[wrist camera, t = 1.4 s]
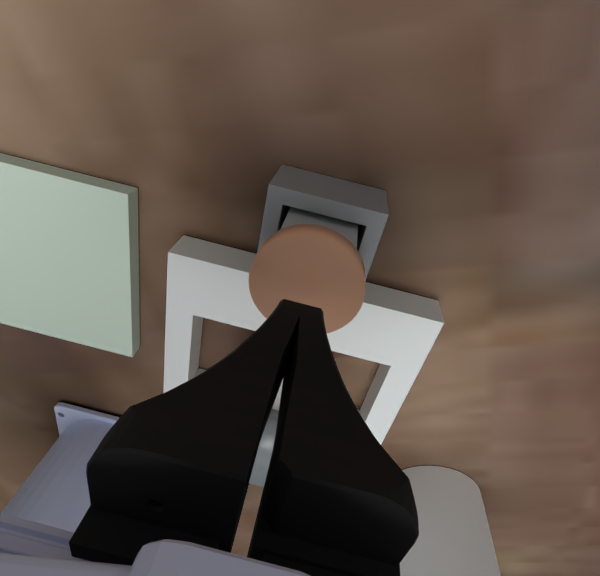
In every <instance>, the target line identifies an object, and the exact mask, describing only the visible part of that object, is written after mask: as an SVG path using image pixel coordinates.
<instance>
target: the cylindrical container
mask: <svg viewBox="0 0 600 576" xmlns="http://www.w3.org/2000/svg"><path fill="white" fill-rule="evenodd" d="M402 471H403V472H404V473H405V474H406V476H407V477H408V478H409V480H410V483H411V487H412V491H413V495H414V499H415V504H416V508H417V514H418V524H419V536H418V538H417V540H416V542H415V544H414V545H413V546H412V548H411V549H410V550H409V552H408V553H407V554H406V556H405V557H404V558H403V560H402V561H401V562H400V576H501V574H500V570H499V566H498V562H497V558H496V554H495V550H494V545H493V541H492V537H491V533H490V529H489V525H488V521H487V517H486V512H485V508H484V504H483V500H482V496H481V492H480V489H479V487H478V485H477V484H476V483H475V482H474V481H473V480H472V479H471V478H470V477H468V476H467V475H465V474H463V473H461V472H459V471H456V470H453V469H450V468H445V467H440V466H416V467H411V468H407V469H404V470H402Z"/></svg>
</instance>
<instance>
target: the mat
mask: <svg viewBox="0 0 600 576" xmlns="http://www.w3.org/2000/svg"><path fill="white" fill-rule="evenodd" d="M0 323H2V324H6V325H10V326H14V327H17V328H21V329H25V330H29V331H33V332H37V333H41V334H44V335H48V336H52V337H56V338H60V339H64V340H67V341H71V342H75V343H79V344H83V345H87V346H91V347H94V348H98V349H102V350H106V351H110V352H114V353H118V354H121V355H125V356H129V357H133V356H134V355H135V353H136V352H137V351H138V349H139V348H140V312H139V238H138V188H136V187H132V186H128V185H124V184H120V183H116V182H112V181H108V180H105V179H101V178H97V177H93V176H89V175H85V174H81V173H77V172H73V171H69V170H66V169H62V168H58V167H54V166H50V165H46V164H42V163H38V162H34V161H30V160H27V159H23V158H19V157H15V156H11V155H7V154H3V153H0Z"/></svg>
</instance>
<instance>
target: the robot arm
mask: <svg viewBox="0 0 600 576" xmlns="http://www.w3.org/2000/svg"><path fill="white" fill-rule="evenodd" d="M282 380H283V384H282V391H281V398H280V406H279V413H278V420H277V427H276V434H275V440H274V446H273V451H272V455H271V459H270V464H269V468H268V472H267V476H266V480H265V484H264V489H263V493H262V497H261V501H260V505H259V510H258V514H257V518H256V522H255V526H254V530H253V534H252V539H251V543H250V547H249V551H248V555H247V557H244V556H240V555H237V554H233V553H231V549H232V546H233V542H234V538H235V534H236V530H237V527H238V523H239V519H240V515H241V511H242V508H243V504H244V500H245V496H246V492H247V489H248V485H249V481H250V477H251V474H252V470H253V466H254V462H255V458H256V455H257V451H258V447H259V444H260V441H261V438H262V435H263V432H264V429H265V426H266V424H267V421H268V418H269V415H270V413H271V410H272V407H273V405H274V402H275V399H276V396H277V394H278V391H279V388H280V385H281V383H282ZM54 410H55V415H56V421H57V426H58V431H59V438H58V439H57V440H56V442H55V443H54V444H53V446H52V447H51V448H50V449H49V451H48V452H47V453H46V455H45V456H44V457H43V459H42V460H41V461H40V462H39V464H38V465H37V466H36V468H35V469H34V470H33V472H32V473H31V474H30V476H29V477H28V478H27V479H26V481H25V482H24V483H23V485H22V486H21V487H20V489H19V490H18V491H17V492H16V494H15V495H14V496H13V498H12V499H11V500H10V502H9V503H8V504H7V505H6V507H5V508H4V509H3V511H2V512H1V513H0V576H400V562H401V561H402V560H403V558H404V557H405V556H406V554H407V553H408V552H409V550H410V549H411V548H412V546H413V545H414V544H415V542H416V540H417V538H418V536H419V524H418V514H417V508H416V504H415V499H414V495H413V491H412V487H411V483H410V480H409V478H408V477H407V476H406V474H405V473H404V472H403V471H402V470H401V469H400V467H399V466H398V465H397V464H396V463H395V462H394V461H393V459H392V458H391V457H390V456H389V455H388V454H387V452H386V451H385V450H384V449H383V447H382V446H381V445H380V443H379V442H378V441H377V439H376V438H375V437H374V435H373V433H372V432H371V430H370V429H369V427H368V426H367V424H366V423H365V421H364V420H363V418H362V417H361V415H360V413H359V412H358V410H357V408H356V406H355V404H354V403H353V401H352V399H351V397H350V395H349V393H348V391H347V389H346V387H345V385H344V383H343V380H342V378H341V376H340V373H339V371H338V368H337V366H336V363H335V360H334V357H333V354H332V351H331V347H330V344H329V341H328V337H327V333H326V328H325V323H324V315H323V311H322V309H321V308H318V307H314V306H310V305H306V304H302V303H298V302H294V301H290V300H287V299H283V300H281V301H280V302H279V304H278V305H277V307H276V308H275V310H274V311H273V312H272V314H271V315H270V316H269V317H268V318H267V320H266V321H265V322H264V323H263V324H262V325H261V326H260V327H259V328H258V329H257V330H256V331H255V332H254V333H253V334H252V335H251V336H250V337H249V338H248V339H247V340H246V341H244V342H243V343H242V344H241V345H240V346H239V347H238V348H236V349H235V350H234V351H233V352H231V353H230V354H229V355H228V356H226V357H225V358H224V359H222V360H221V361H219V362H218V363H217V364H215V365H214V366H212V367H210V368H209V369H207V370H206V371H204V372H203V373H201V374H199V375H198V376H196V377H194V378H193V379H191V380H189V381H187V382H185V383H183V384H181V385H179V386H177V387H175V388H173V389H171V390H169V391H167V392H165V393H163V394H161V395H158V396H156V397H153V398H151V399H148V400H146V401H143V402H141V403H139V404H136V405H133V406H130V407H129V408H128V409H127V410H126V411H125V413H124V414H123V415H122V416H121V417H116V416H112V415H109V414H105V413H101V412H97V411H93V410H89V409H86V408H82V407H78V406H74V405H70V404H67V403H63V402H59V403H57V404H56V405H55V407H54Z"/></svg>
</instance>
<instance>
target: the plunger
mask: <svg viewBox="0 0 600 576" xmlns="http://www.w3.org/2000/svg"><path fill="white" fill-rule="evenodd" d="M357 235H358V224H357V223H353V222H349V221H345V220H341V219H337V218H333V217H329V216H325V215H322V214H318V213H314V212H310V211H306V210H302V209H298V208H294V207H290V210H289V212H288V214H287V216H286V218H285V221H284V223H283V225H282V227H281V229H280V230H279V231H277V232H276V233H274V234H272V235H271V236H270V237H269V238H268V239H267V240H266V241H265V242H264V243H263V245H262V246H261V248H260V250H259V251H258V253H257V255H256V257H255V259H254V261H253V263H252V266H251V268H250V272H249V280H248V282H249V290H250V294H251V297H252V300H253V302H254V304H255V306H256V307H257V308H258V310H259V311H260V312H261V314H262V315H263V316H264V317H265V318H266V319H267V318H268V317H269V316H270V315H271V314H272V312H273V311H274V310H275V308H276V307H277V305H278V304H279V302H280V301H281V300H283V299H287V300H290V301H294V302H298V303H302V304H306V305H310V306H314V307H318V308H321V309H322V311H323V315H324V323H325V328H326V333H331V332H334V331H336V330H338V329H340V328H342V327H344V326H345V325H347V324H348V323H349V322H350V321H352V320H353V318H354V317H355V316H356V315H357V314H358V312H359V310H360V309H361V306H362V304H363V301H364V297H365V267H364V263H363V260H362V257H361V256H360V254H359V252H358V250H357Z"/></svg>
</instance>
